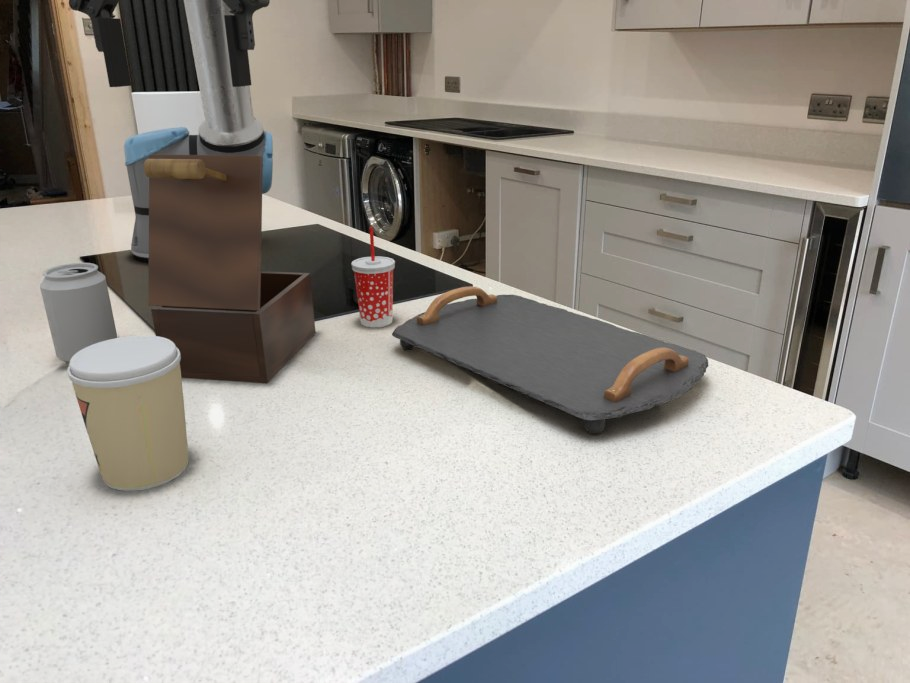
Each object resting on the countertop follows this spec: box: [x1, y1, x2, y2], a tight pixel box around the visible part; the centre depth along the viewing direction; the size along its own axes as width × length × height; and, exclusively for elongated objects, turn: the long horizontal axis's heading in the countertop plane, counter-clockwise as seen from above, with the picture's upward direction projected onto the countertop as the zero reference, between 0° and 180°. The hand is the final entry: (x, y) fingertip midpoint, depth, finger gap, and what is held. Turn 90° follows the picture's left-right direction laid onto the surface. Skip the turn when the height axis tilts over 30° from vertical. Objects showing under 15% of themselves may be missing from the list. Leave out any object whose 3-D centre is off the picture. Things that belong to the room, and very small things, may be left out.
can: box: [39, 262, 119, 365], centre depth 94 cm, size 8×8×12 cm
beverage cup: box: [350, 226, 396, 328], centre depth 104 cm, size 6×6×14 cm
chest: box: [150, 270, 317, 385], centre depth 94 cm, size 17×14×9 cm
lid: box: [144, 154, 263, 311], centre depth 81 cm, size 17×14×8 cm
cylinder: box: [130, 90, 205, 135], centre depth 175 cm, size 17×17×28 cm
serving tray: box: [391, 286, 709, 436], centre depth 90 cm, size 39×23×6 cm, turn 42°
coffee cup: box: [67, 334, 189, 492], centre depth 68 cm, size 9×9×12 cm
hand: (180, 86), depth 75 cm, fingers open, 13 cm apart
